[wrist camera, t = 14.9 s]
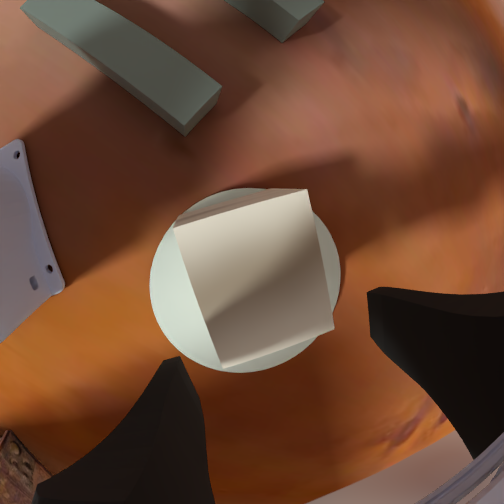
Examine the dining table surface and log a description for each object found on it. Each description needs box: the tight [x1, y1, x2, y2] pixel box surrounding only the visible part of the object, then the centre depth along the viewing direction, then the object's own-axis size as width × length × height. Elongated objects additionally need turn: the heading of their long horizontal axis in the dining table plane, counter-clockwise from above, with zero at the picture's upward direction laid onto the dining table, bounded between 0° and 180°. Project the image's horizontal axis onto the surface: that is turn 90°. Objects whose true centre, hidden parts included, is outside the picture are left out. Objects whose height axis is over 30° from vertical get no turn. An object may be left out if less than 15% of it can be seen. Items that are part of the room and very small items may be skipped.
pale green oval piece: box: [150, 188, 340, 373], centre depth 17 cm, size 11×11×1 cm
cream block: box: [173, 188, 335, 369], centre depth 14 cm, size 6×5×5 cm
